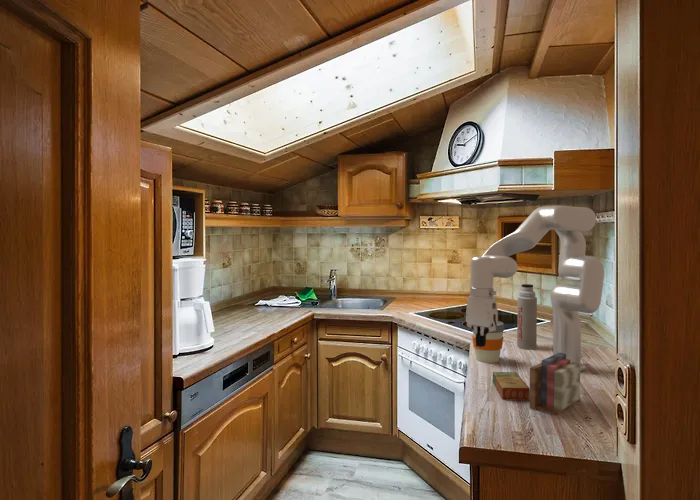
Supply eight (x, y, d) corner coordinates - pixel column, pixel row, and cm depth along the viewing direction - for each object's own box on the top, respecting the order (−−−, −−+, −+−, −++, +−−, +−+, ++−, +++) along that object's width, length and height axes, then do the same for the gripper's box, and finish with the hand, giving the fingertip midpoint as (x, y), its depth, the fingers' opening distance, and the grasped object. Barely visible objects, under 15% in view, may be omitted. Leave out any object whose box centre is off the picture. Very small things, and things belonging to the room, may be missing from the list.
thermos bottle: (520, 349, 193) (521, 285, 192) (514, 344, 201) (515, 283, 200) (539, 349, 193) (539, 285, 192) (532, 344, 201) (533, 283, 200)
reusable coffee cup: (472, 353, 188) (472, 318, 187) (503, 356, 184) (504, 320, 183) (470, 362, 176) (470, 324, 175) (503, 365, 172) (504, 326, 171)
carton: (501, 400, 138) (501, 386, 138) (492, 382, 154) (491, 370, 153) (529, 401, 137) (529, 387, 136) (517, 383, 153) (517, 371, 152)
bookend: (556, 392, 143) (557, 350, 142) (582, 399, 137) (583, 355, 136) (529, 408, 131) (529, 361, 130) (556, 416, 125) (556, 367, 124)
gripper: (507, 294, 148) (506, 348, 149) (469, 289, 160) (468, 340, 160) (495, 296, 143) (494, 352, 144) (456, 291, 155) (455, 343, 155)
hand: (480, 345), depth 152 cm, fingers closed
